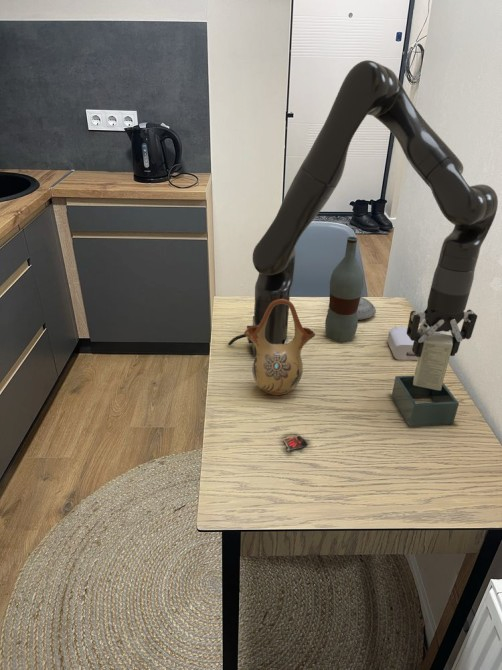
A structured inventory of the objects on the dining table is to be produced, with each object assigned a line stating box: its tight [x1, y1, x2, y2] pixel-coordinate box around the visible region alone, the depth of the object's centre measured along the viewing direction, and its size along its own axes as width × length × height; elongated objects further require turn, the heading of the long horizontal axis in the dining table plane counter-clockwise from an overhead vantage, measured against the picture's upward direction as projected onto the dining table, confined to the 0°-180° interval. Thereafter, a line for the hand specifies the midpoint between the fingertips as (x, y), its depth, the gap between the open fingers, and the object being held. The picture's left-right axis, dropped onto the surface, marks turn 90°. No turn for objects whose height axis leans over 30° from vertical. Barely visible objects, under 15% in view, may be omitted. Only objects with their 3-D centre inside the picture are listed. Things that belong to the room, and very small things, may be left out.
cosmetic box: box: [413, 332, 453, 391], centre depth 110 cm, size 6×4×12 cm
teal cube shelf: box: [391, 374, 460, 428], centre depth 115 cm, size 10×11×6 cm
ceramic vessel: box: [243, 299, 316, 396], centre depth 116 cm, size 16×9×25 cm, turn 90°
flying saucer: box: [357, 296, 377, 321], centre depth 159 cm, size 15×15×6 cm
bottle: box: [324, 236, 364, 344], centre depth 139 cm, size 9×9×30 cm
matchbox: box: [282, 433, 309, 453], centre depth 105 cm, size 5×5×1 cm
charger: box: [386, 325, 418, 361], centre depth 141 cm, size 5×9×15 cm
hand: (433, 354), depth 109 cm, fingers closed on cosmetic box, 7 cm apart
